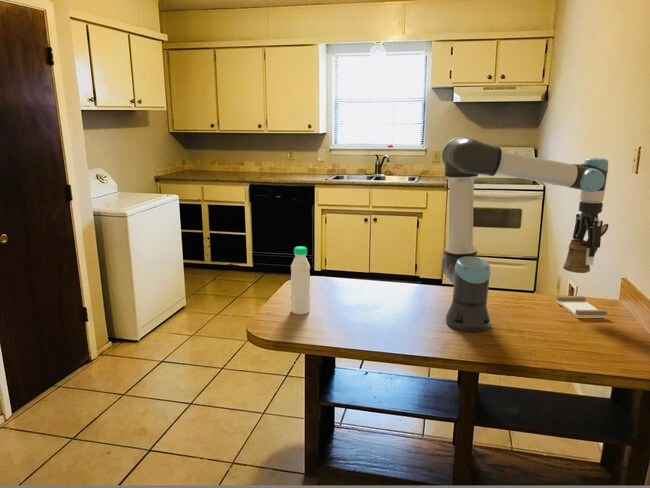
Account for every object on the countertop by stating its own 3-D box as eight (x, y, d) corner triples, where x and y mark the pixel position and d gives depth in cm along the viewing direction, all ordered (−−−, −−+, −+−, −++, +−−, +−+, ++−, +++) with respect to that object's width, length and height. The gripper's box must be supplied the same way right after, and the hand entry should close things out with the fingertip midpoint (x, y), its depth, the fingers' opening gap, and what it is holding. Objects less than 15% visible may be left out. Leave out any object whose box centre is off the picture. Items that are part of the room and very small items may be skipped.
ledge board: (576, 318, 182) (578, 311, 181) (555, 303, 198) (556, 296, 197) (605, 318, 183) (607, 311, 182) (582, 303, 198) (583, 296, 197)
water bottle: (310, 308, 188) (311, 245, 181) (308, 315, 181) (308, 250, 175) (292, 307, 188) (292, 244, 182) (289, 314, 182) (289, 249, 175)
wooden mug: (606, 274, 180) (614, 226, 176) (568, 272, 182) (574, 225, 177) (596, 267, 189) (603, 221, 184) (559, 265, 190) (565, 220, 186)
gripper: (618, 206, 170) (608, 269, 175) (586, 196, 189) (578, 254, 195) (596, 206, 169) (587, 269, 175) (567, 197, 189) (560, 254, 194)
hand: (583, 261), depth 185 cm, fingers closed on wooden mug, 7 cm apart
